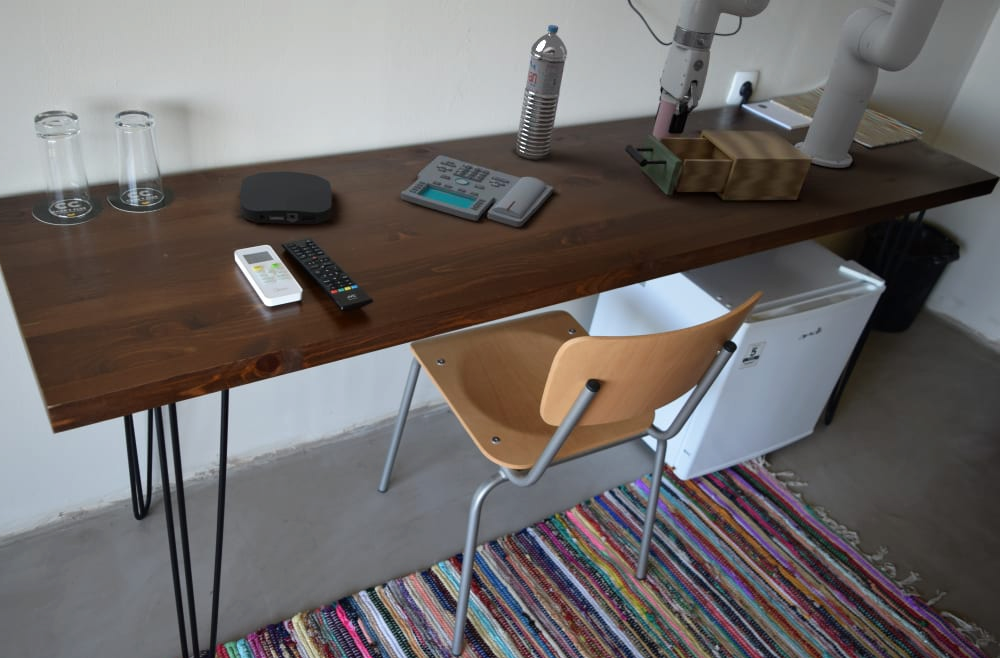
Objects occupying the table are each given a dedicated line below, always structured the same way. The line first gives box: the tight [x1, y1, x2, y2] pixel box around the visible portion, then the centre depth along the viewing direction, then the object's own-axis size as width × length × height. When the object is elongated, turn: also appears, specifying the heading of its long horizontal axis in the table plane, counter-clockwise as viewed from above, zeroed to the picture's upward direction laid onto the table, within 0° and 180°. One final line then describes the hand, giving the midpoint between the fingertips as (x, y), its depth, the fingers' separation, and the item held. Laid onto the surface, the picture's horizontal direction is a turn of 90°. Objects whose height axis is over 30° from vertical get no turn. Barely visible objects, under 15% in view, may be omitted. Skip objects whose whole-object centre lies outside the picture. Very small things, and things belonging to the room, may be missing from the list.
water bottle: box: [515, 24, 568, 161], centre depth 157 cm, size 7×7×25 cm
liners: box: [651, 94, 687, 140], centre depth 169 cm, size 6×6×12 cm
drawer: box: [624, 134, 734, 196], centre depth 157 cm, size 21×13×7 cm, turn 104°
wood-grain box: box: [699, 129, 812, 201], centre depth 161 cm, size 17×14×9 cm
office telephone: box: [400, 154, 554, 228], centre depth 145 cm, size 23×3×20 cm
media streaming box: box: [239, 171, 333, 225], centre depth 134 cm, size 15×15×3 cm
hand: (668, 126), depth 169 cm, fingers closed on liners, 5 cm apart
